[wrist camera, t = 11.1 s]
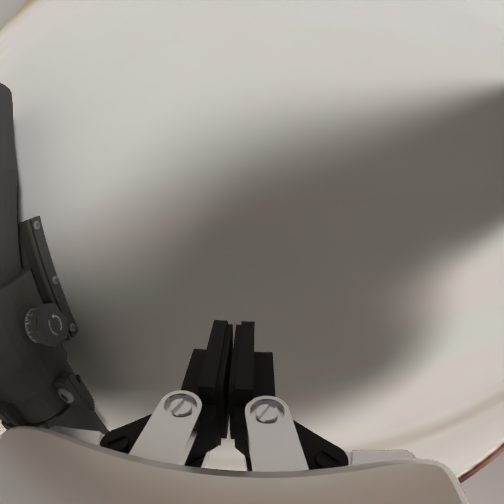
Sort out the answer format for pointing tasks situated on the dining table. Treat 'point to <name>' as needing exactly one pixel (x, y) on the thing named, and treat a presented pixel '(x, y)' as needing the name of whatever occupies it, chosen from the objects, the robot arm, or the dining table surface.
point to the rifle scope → (33, 316)
